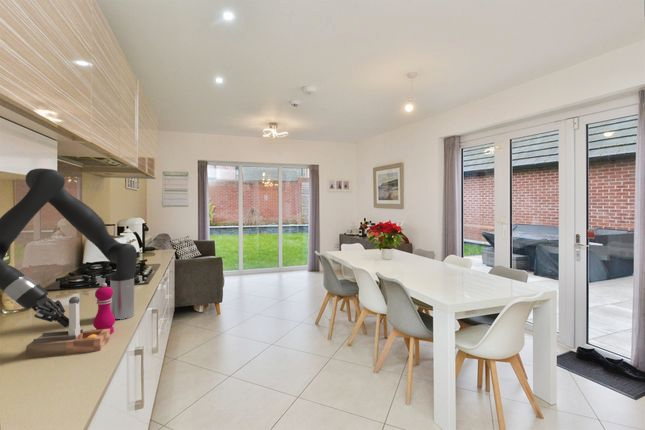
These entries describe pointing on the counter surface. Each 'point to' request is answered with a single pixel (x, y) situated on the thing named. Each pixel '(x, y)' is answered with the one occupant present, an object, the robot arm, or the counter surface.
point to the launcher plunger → (74, 317)
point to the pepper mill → (104, 309)
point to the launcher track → (67, 343)
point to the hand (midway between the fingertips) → (69, 324)
